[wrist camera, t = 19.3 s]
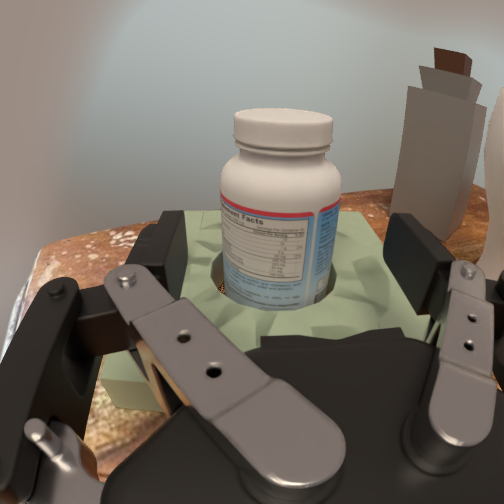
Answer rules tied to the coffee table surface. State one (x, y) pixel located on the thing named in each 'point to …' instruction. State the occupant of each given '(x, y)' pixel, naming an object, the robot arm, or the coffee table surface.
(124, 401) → the hole plate
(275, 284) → the pill bottle
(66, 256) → the coffee table surface
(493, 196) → the cup
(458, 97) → the perfume bottle
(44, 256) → the coffee table surface
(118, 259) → the coffee table surface
